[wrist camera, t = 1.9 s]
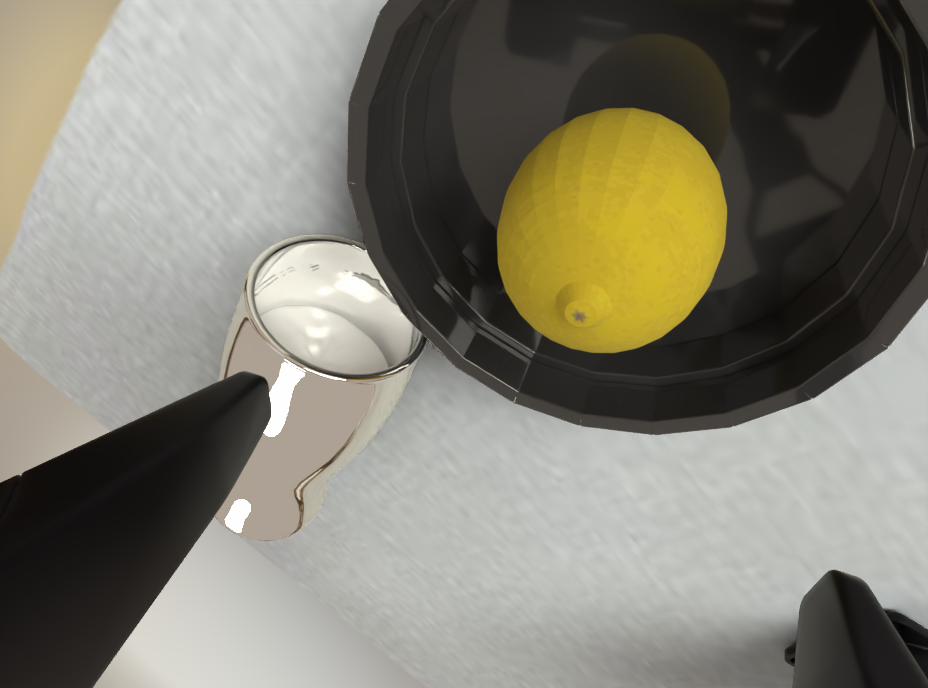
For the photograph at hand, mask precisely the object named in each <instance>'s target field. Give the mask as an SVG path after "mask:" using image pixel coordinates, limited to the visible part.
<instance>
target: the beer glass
mask: <svg viewBox="0 0 928 688" xmlns="http://www.w3.org/2000/svg"><path fill="white" fill-rule="evenodd" d="M427 342H428V339H427V338H426V337H425V336H424V335H423V334H422V333H421V332H420V331H419V330H418V329H417V328H416V327H415V326H414V325H413V324H412V323H411V322H410V321H409V320H408V319H407V318H406V317H405V316H404V315H403V313H402V311H401V310H400V308H399V306H398V305H397V303H396V301H395V300H394V298H393V296H392V295H391V293H390V291H389V290H388V288H387V286H386V285H385V283H384V281H383V280H382V278H381V276H380V275H379V273H378V271H377V270H376V268H375V266H374V265H373V263H372V261H371V260H370V258H369V255H368V254H367V251H366V247H365V244H362V243H360V242H357V241H354V240H351V239H347V238H343V237H338V236H332V235H302V236H296V237H292V238H288V239H285V240H283V241H280V242H278V243H276V244H274V245H272V246H270V247H269V248H267V249H266V250H265V251H264V252H262V253H261V254H260V255H259V256H258V257H257V258H256V260H255V261H254V262H253V264H252V265H251V267H250V269H249V271H248V273H247V276H246V280H245V284H244V288H243V291H242V294H241V296H240V299H239V301H238V304H237V306H236V309H235V312H234V315H233V318H232V320H231V323H230V326H229V330H228V333H227V337H226V341H225V344H224V348H223V352H222V358H221V365H220V371H219V380H218V382H219V381H221V380H223V379H225V378H227V377H230V376H232V375H234V374H236V373H238V372H242V371H248V372H251V373H254V374H257V375H260V376H263V377H265V378H266V380H267V381H268V385H269V392H270V399H271V405H272V416H271V419H270V422H269V424H268V426H267V428H266V430H265V431H264V433H263V435H262V437H261V439H260V440H259V442H258V444H257V446H256V448H255V449H254V451H253V453H252V455H251V457H250V458H249V460H248V462H247V464H246V465H245V467H244V469H243V471H242V473H241V474H240V476H239V478H238V480H237V482H236V483H235V485H234V487H233V489H232V490H231V492H230V494H229V495H228V497H227V499H226V500H225V502H224V503H223V505H222V506H221V508H220V509H219V510H218V512H217V513H216V515H215V517H216V519H217V520H218V521H219V522H220V523H221V524H222V525H223V526H224V527H226V528H227V529H228V530H230V531H231V532H233V533H235V534H237V535H239V536H242V537H245V538H248V539H252V540H260V541H271V540H278V539H282V538H285V537H288V536H291V535H293V534H295V533H297V532H299V531H300V530H302V529H303V528H305V527H306V526H307V525H308V524H309V523H310V522H311V521H312V520H313V519H314V518H315V517H316V516H317V514H318V513H319V511H320V509H321V507H322V505H323V503H324V500H325V497H326V493H327V488H328V481H329V479H330V478H331V477H332V476H333V475H334V474H335V473H337V472H338V471H339V470H340V469H341V468H343V467H344V466H345V465H346V464H347V463H348V462H350V461H351V460H352V459H353V458H354V457H355V456H357V455H358V454H359V453H360V452H361V451H362V450H363V449H364V448H365V446H366V445H367V444H368V443H369V442H370V441H371V440H372V439H373V438H374V437H375V436H376V435H377V433H378V432H379V430H380V429H381V428H382V426H383V425H384V423H385V422H386V421H387V419H388V418H389V416H390V415H391V413H392V411H393V410H394V408H395V406H396V404H397V402H398V401H399V399H400V397H401V395H402V394H403V391H404V389H405V387H406V385H407V383H408V381H409V379H410V377H411V375H412V372H413V370H414V368H415V366H416V363H417V361H418V359H419V357H420V356H421V354H422V353H423V351H424V349H425V347H426V345H427Z"/></svg>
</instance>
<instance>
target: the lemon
mask: <svg viewBox="0 0 928 688" xmlns="http://www.w3.org/2000/svg"><path fill="white" fill-rule="evenodd" d="M726 223H727V204H726V200H725V196H724V191H723V187H722V183H721V178H720V174H719V172H718V170H717V168H716V167H715V165H714V163H713V161H712V160H711V158H710V156H709V155H708V153H707V151H706V149H705V148H704V146H703V145H702V144H701V143H700V142H699V141H697V140H696V139H695V138H694V137H693V136H692V135H691V134H690V133H689V132H688V131H687V130H686V129H685V128H684V127H683V126H681V125H679V124H677V123H676V122H674V121H672V120H670V119H668V118H666V117H664V116H663V115H661V114H658V113H654V112H650V111H645V110H641V109H637V108H607V109H603V110H599V111H596V112H592V113H588V114H585V115H581V116H578V117H576V118H574V119H573V120H571V121H569V122H568V123H566V124H564V125H562V126H561V127H559V128H557V129H556V130H554V131H552V132H551V133H549V134H548V135H547V136H546V137H545V138H544V139H543V140H542V141H541V142H540V143H539V144H538V145H537V146H536V147H535V148H534V149H533V150H532V151H531V152H530V153H529V154H528V155H527V157H526V158H525V159H524V161H523V163H522V164H521V166H520V168H519V170H518V171H517V173H516V175H515V177H514V178H513V180H512V182H511V184H510V186H509V188H508V190H507V192H506V195H505V199H504V203H503V207H502V211H501V215H500V219H499V224H498V230H497V249H498V266H499V270H500V274H501V277H502V280H503V283H504V287H505V290H506V292H507V294H508V296H509V297H510V299H511V300H512V302H513V304H514V305H515V307H516V309H517V310H518V312H519V314H520V315H521V316H522V317H523V318H524V319H525V320H526V321H527V322H528V323H529V324H530V325H531V326H532V327H533V328H534V329H535V330H537V331H538V332H540V333H541V334H543V335H544V336H546V337H547V338H549V339H550V340H552V341H554V342H557V343H559V344H562V345H564V346H566V347H569V348H571V349H576V350H581V351H586V352H591V353H616V352H621V351H627V350H632V349H636V348H639V347H641V346H643V345H646V344H648V343H650V342H652V341H655V340H657V339H659V338H661V337H663V336H664V335H665V334H666V333H668V332H669V331H670V330H672V329H673V328H674V327H675V326H677V325H678V324H679V323H681V322H682V321H683V320H684V319H685V318H686V317H687V316H688V315H689V313H690V312H691V311H692V310H693V308H694V307H695V306H696V304H697V303H698V302H699V300H700V299H701V298H702V296H703V295H704V294H705V292H706V291H707V289H708V287H709V286H710V284H711V282H712V279H713V277H714V274H715V272H716V269H717V266H718V264H719V261H720V258H721V256H722V253H723V249H724V246H725V238H726Z"/></svg>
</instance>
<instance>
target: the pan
mask: <svg viewBox="0 0 928 688" xmlns="http://www.w3.org/2000/svg"><path fill="white" fill-rule="evenodd" d="M607 108H637V109H641V110H645V111H650V112H654V113H658V114H661V115H663V116H664V117H666V118H668V119H670V120H672V121H674V122H676V123H677V124H679V125H681V126H683V127H684V128H685V129H686V130H687V131H688V132H689V133H690V134H691V135H692V136H693V137H694V138H695V139H696V140H697V141H699V142H700V143H701V144H702V145H703V146H704V148H705V149H706V151H707V153H708V155H709V156H710V158H711V160H712V161H713V163H714V165H715V167H716V168H717V170H718V172H719V174H720V178H721V183H722V187H723V191H724V196H725V200H726V204H727V223H726V238H725V246H724V249H723V253H722V256H721V258H720V261H719V264H718V266H717V269H716V272H715V274H714V277H713V279H712V282H711V284H710V286H709V287H708V289H707V291H706V292H705V294H704V295H703V296H702V298H701V299H700V300H699V302H698V303H697V304H696V306H695V307H694V308H693V310H692V311H691V312H690V313H689V315H688V316H687V317H686V318H685V319H684V320H683V321H682V322H681V323H679V324H678V325H677V326H675V327H674V328H673V329H672V330H670V331H669V332H668V333H666V334H665V335H664V336H663V337H661V338H659V339H657V340H655V341H652V342H650V343H648V344H646V345H643V346H641V347H639V348H636V349H632V350H627V351H621V352H616V353H591V352H586V351H581V350H576V349H571V348H569V347H566V346H564V345H562V344H559V343H557V342H554V341H552V340H550V339H549V338H547V337H546V336H544V335H543V334H541V333H540V332H538V331H537V330H535V329H534V328H533V327H532V326H531V325H530V324H529V323H528V322H527V321H526V320H525V319H524V318H523V317H522V316H521V315H520V314H519V312H518V310H517V309H516V307H515V305H514V304H513V302H512V300H511V299H510V297H509V296H508V294H507V292H506V290H505V287H504V283H503V280H502V277H501V274H500V270H499V266H498V249H497V230H498V224H499V219H500V215H501V211H502V207H503V203H504V199H505V195H506V192H507V190H508V188H509V186H510V184H511V182H512V180H513V178H514V177H515V175H516V173H517V171H518V170H519V168H520V166H521V164H522V163H523V161H524V159H525V158H526V157H527V155H528V154H529V153H530V152H531V151H532V150H533V149H534V148H535V147H536V146H537V145H538V144H539V143H540V142H541V141H542V140H543V139H544V138H545V137H546V136H547V135H548V134H549V133H551V132H552V131H554V130H556V129H557V128H559V127H561V126H562V125H564V124H566V123H568V122H569V121H571V120H573V119H574V118H576V117H578V116H581V115H585V114H588V113H592V112H596V111H599V110H603V109H607ZM347 181H348V186H349V190H350V193H351V197H352V201H353V204H354V208H355V211H356V215H357V218H358V222H359V226H360V229H361V233H362V236H363V240H364V244H365V247H366V251H367V254H368V255H369V258H370V260H371V261H372V263H373V265H374V266H375V268H376V270H377V271H378V273H379V275H380V276H381V278H382V280H383V281H384V283H385V285H386V286H387V288H388V290H389V291H390V293H391V295H392V296H393V298H394V300H395V301H396V303H397V305H398V306H399V308H400V310H401V311H402V313H403V315H404V316H405V317H406V318H407V319H408V320H409V321H410V322H411V323H412V324H413V325H414V326H415V327H416V328H417V329H418V330H419V331H420V332H421V333H422V334H423V335H424V336H425V337H426V338H427V339H428V340H429V341H430V342H431V343H432V344H433V345H434V346H435V347H436V348H437V349H438V350H439V351H440V352H441V353H442V354H443V355H444V356H445V357H446V358H447V359H448V360H449V361H450V362H451V363H452V364H453V365H455V367H457V368H458V369H460V370H462V371H463V372H465V373H466V374H468V375H470V376H471V377H473V378H474V379H476V380H478V381H479V382H481V383H482V384H484V385H486V386H487V387H489V388H490V389H492V390H494V391H495V392H497V393H498V394H500V395H502V396H503V397H505V398H506V399H508V400H510V401H512V402H513V401H514V403H516V404H518V405H521V406H524V407H527V408H530V409H533V410H536V411H538V412H541V413H544V414H547V415H550V416H553V417H556V418H558V419H561V420H564V421H567V422H570V423H573V424H576V425H581V426H583V427H592V428H600V429H608V430H617V431H625V432H633V433H641V434H650V435H653V434H654V435H661V434H671V433H681V432H690V431H700V430H710V429H720V428H730V427H732V426H737V425H739V424H742V423H745V422H748V421H751V420H754V419H757V418H759V417H762V416H765V415H768V414H771V413H774V412H777V411H779V410H782V409H785V408H788V407H791V406H794V405H797V404H799V403H802V402H805V401H808V400H810V399H812V398H815V397H817V396H818V395H820V394H821V393H823V392H824V391H826V390H827V389H829V388H830V387H832V386H833V385H834V384H836V383H837V382H839V381H840V380H842V379H843V378H845V377H846V376H848V375H849V374H851V373H852V372H854V371H855V370H857V369H858V368H860V367H861V366H862V365H864V364H865V363H867V362H868V361H870V360H871V359H873V358H874V357H876V356H877V355H879V354H880V353H882V352H883V351H885V350H886V349H887V348H888V346H890V345H891V344H892V343H893V341H894V340H895V339H896V338H897V336H898V335H899V334H900V333H901V331H902V330H903V329H904V328H905V326H906V325H907V324H908V323H909V321H910V320H911V319H912V318H913V316H914V315H915V314H916V313H917V311H918V310H919V309H920V308H921V306H922V305H923V304H924V303H925V302H926V300H927V299H928V0H388V1H387V3H386V4H385V5H384V7H383V8H382V9H381V10H380V13H379V15H378V17H377V20H376V23H375V26H374V29H373V31H372V34H371V37H370V40H369V43H368V46H367V49H366V52H365V55H364V58H363V61H362V64H361V67H360V70H359V73H358V76H357V79H356V81H355V84H354V87H353V90H352V93H351V96H350V101H349V114H348V176H347Z"/></svg>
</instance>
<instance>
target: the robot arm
mask: <svg viewBox="0 0 928 688" xmlns="http://www.w3.org/2000/svg"><path fill="white" fill-rule="evenodd" d="M271 416H272V405H271V399H270V392H269V385H268V381H267V380H266V378H265V377H263V376H260V375H257V374H254V373H251V372H248V371H242V372H238V373H236V374H234V375H232V376H230V377H227V378H225V379H223V380H221V381H219V382H217V383H215V384H212V385H210V386H208V387H206V388H204V389H202V390H199V391H197V392H195V393H193V394H191V395H189V396H187V397H184V398H182V399H180V400H178V401H176V402H174V403H171V404H169V405H167V406H165V407H163V408H161V409H159V410H156V411H154V412H152V413H150V414H148V415H146V416H143V417H141V418H139V419H137V420H135V421H133V422H131V423H128V424H126V425H124V426H122V427H120V428H118V429H115V430H113V431H111V432H109V433H107V434H105V435H103V436H100V437H98V438H96V439H94V440H92V441H90V442H88V443H86V444H83V445H81V446H79V447H77V448H75V449H73V450H70V451H68V452H66V453H64V454H62V455H60V456H58V457H55V458H53V459H51V460H49V461H47V462H44V463H42V464H40V465H38V466H36V467H34V468H32V469H29V470H27V471H25V472H24V473H22V476H20V475H16V476H14V477H12V478H10V479H8V480H5V481H3V482H1V483H0V688H93V686H94V685H95V683H96V682H97V681H98V679H99V678H100V677H101V675H102V674H103V672H104V671H105V670H106V668H107V667H108V665H109V664H110V662H111V661H112V660H113V658H114V657H115V655H116V654H117V652H118V651H119V650H120V648H121V647H122V646H123V644H124V643H125V641H126V640H127V638H128V637H129V636H130V634H131V633H132V631H133V630H134V629H135V627H136V626H137V624H138V623H139V622H140V620H141V619H142V617H143V616H144V615H145V613H146V612H147V610H148V609H149V608H150V606H151V605H152V603H153V602H154V600H155V599H156V598H157V596H158V595H159V593H160V592H161V590H162V589H163V588H164V586H165V585H166V584H167V582H168V581H169V579H170V578H171V577H172V575H173V574H174V572H175V571H176V570H177V568H178V567H179V565H180V564H181V563H182V561H183V560H184V558H185V557H186V555H187V554H188V553H189V551H190V550H191V548H192V547H193V546H194V544H195V543H196V541H197V540H198V539H199V537H200V536H201V534H202V533H203V532H204V530H205V529H206V527H207V526H208V524H209V523H210V522H211V520H212V519H213V518H214V516H215V515H216V513H217V512H218V510H219V509H220V508H221V506H222V505H223V503H224V502H225V500H226V499H227V497H228V495H229V494H230V492H231V490H232V489H233V487H234V485H235V483H236V482H237V480H238V478H239V476H240V474H241V473H242V471H243V469H244V467H245V465H246V464H247V462H248V460H249V458H250V457H251V455H252V453H253V451H254V449H255V448H256V446H257V444H258V442H259V440H260V439H261V437H262V435H263V433H264V431H265V430H266V428H267V426H268V424H269V422H270V419H271ZM784 653H785V661H786V662H787V663H788V664H790V665H792V666H793V667H794V678H793V688H928V630H927V629H925V628H924V627H922V626H921V625H919V624H917V623H916V622H914V621H913V620H911V619H909V618H908V617H906V616H904V615H902V614H899V613H885V611H884V610H883V608H882V607H881V605H880V603H879V602H878V600H877V599H876V597H875V595H874V594H873V592H872V591H871V589H870V588H869V586H868V585H867V584H866V583H865V582H864V581H863V580H862V579H860V578H858V577H856V576H853V575H850V574H847V573H844V572H841V571H838V570H831V571H828V572H827V573H826V574H825V575H824V576H823V577H822V578H821V579H820V580H819V581H818V582H817V583H816V584H815V585H814V586H813V587H812V588H811V590H810V591H809V592H808V593H807V594H806V595H805V596H804V598H803V600H802V602H801V605H800V610H799V620H798V631H797V643H796V645H794V646H792V647H789V648H787V649H785V651H784Z"/></svg>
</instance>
